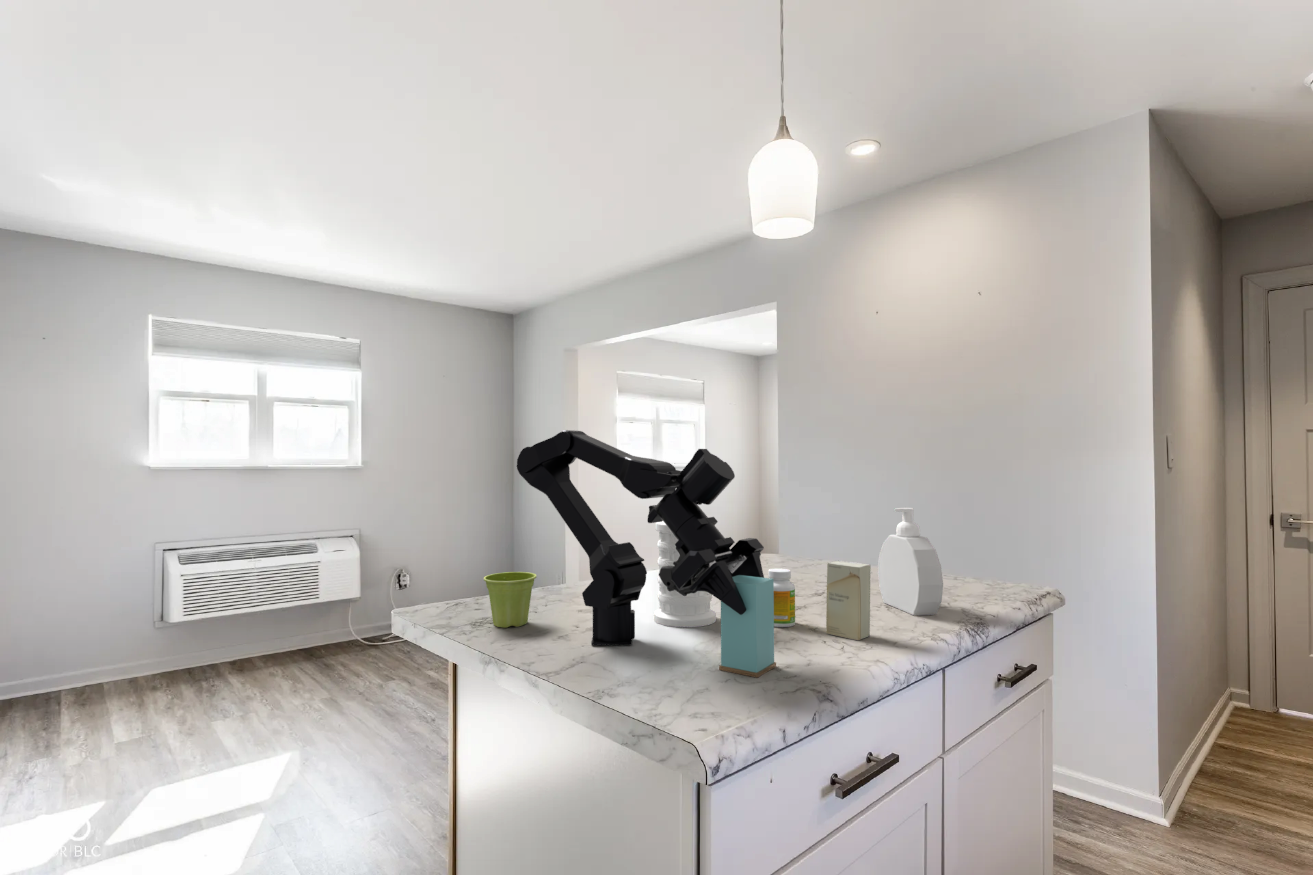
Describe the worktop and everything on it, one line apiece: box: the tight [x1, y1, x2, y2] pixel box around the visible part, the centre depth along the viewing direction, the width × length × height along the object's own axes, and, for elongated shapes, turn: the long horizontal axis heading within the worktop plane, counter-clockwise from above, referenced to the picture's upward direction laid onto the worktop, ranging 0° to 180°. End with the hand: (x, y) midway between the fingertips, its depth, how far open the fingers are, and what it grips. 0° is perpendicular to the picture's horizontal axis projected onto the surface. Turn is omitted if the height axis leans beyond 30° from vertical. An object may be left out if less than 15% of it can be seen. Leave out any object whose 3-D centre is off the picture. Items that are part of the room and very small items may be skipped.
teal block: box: [720, 575, 775, 673], centre depth 96 cm, size 6×6×12 cm
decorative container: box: [653, 521, 717, 628], centre depth 125 cm, size 12×12×18 cm
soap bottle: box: [877, 507, 944, 616], centre depth 133 cm, size 16×5×20 cm, turn 10°
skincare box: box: [825, 560, 872, 641], centre depth 113 cm, size 6×4×12 cm
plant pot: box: [483, 571, 538, 629], centre depth 121 cm, size 9×9×9 cm
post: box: [718, 661, 777, 678], centre depth 96 cm, size 6×6×4 cm
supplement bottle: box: [767, 567, 796, 628], centre depth 121 cm, size 5×5×10 cm
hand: (756, 607), depth 95 cm, fingers open, 7 cm apart
